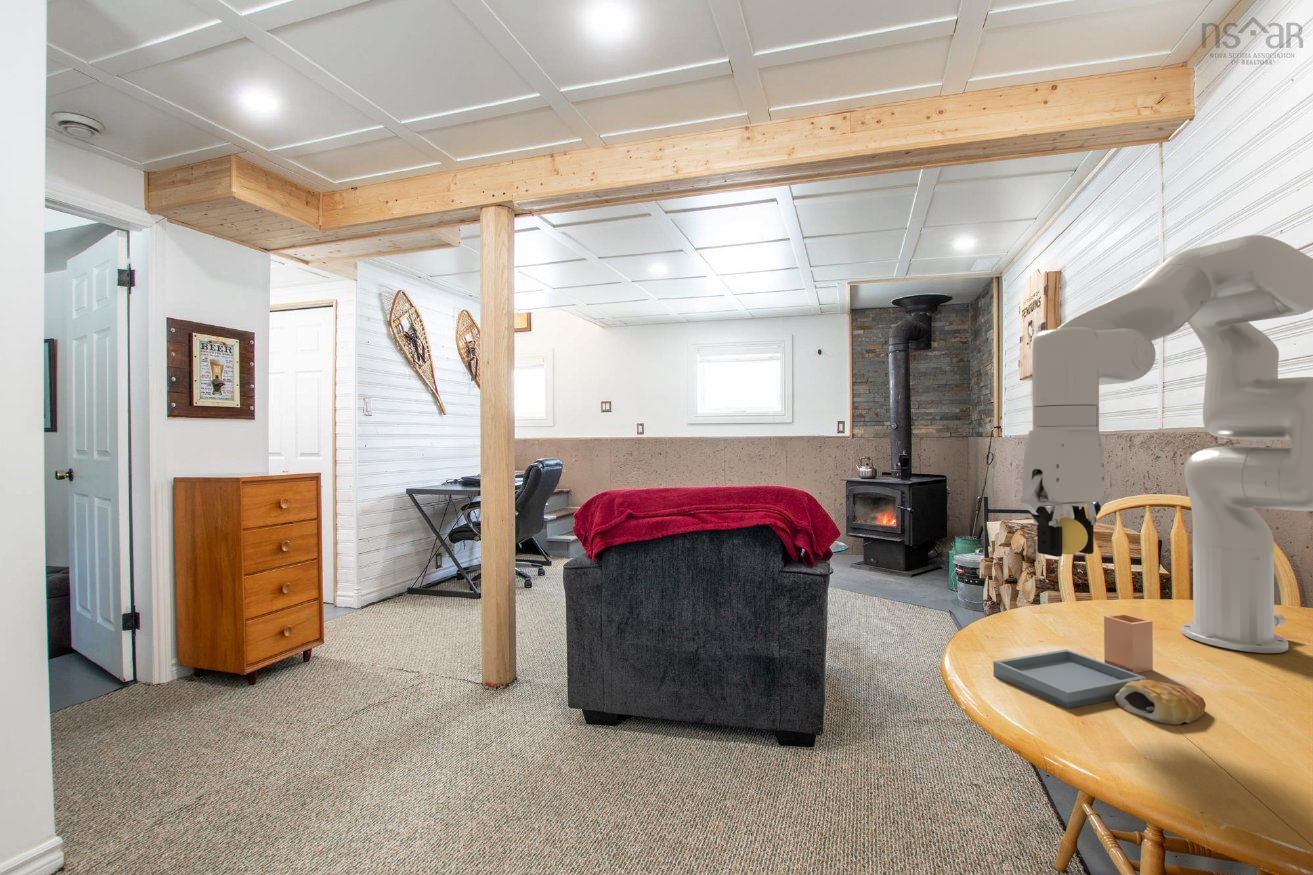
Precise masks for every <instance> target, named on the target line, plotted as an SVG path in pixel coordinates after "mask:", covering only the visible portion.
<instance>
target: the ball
mask: <svg viewBox="0 0 1313 875" xmlns="http://www.w3.org/2000/svg"><path fill="white" fill-rule="evenodd" d="M1058 526H1059V527H1062V555H1074V554H1076V553H1080V552H1079V551H1081V550H1082V549H1083V548H1084V547H1085V546H1086V544H1087V540H1088V535H1087V531H1086V529H1085V528H1084V526H1083V525H1082V524H1081V523H1079V522H1078V521H1076V520H1074V519H1071V517H1064V516H1063V517H1061V516H1060V519H1059V524H1058Z"/></svg>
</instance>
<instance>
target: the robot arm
mask: <svg viewBox="0 0 1313 875" xmlns="http://www.w3.org/2000/svg"><path fill="white" fill-rule="evenodd" d="M1312 311H1313V258H1312V257H1311V256H1309V255H1308V254H1306V253H1304V252H1302V251H1300V250H1298V249H1297V248H1295V247H1293V246H1291V245H1290V244H1288V243H1286V242H1285V241H1282V240H1279V239H1277V238H1274V237H1270V236H1267V235H1262V234H1260V235H1259V234H1253V235H1246V236H1245V235H1244V236H1241V237H1236V238H1233V239H1228V240H1225V241H1220V242H1216V243H1211V244H1207V245H1202V246H1198V247H1194V248H1191V249H1188V250H1184V251H1181V252H1178V253H1177V254H1174V255H1172V256H1170V257H1169V258H1167V260H1165V261H1164V262H1163V263H1161V265H1159V266H1158V267H1157V268H1155V269H1154V270H1153V271H1152V272H1151V273H1150V274H1149V275H1148V276H1146V277H1145V278H1144V279H1143V280H1141V281H1140V282H1139V283H1138V284H1137V285H1136V286H1135V287H1133V288H1132V289H1131V290H1129V291H1127V292H1126V293H1123V294H1121V295H1119V296H1116V297H1114V298H1111V299H1109V300H1108V301H1106V302H1103V303H1102V304H1100V305H1098V306H1096V307H1093V308H1092V309H1089V310H1087V311H1085V312H1082V313H1081V314H1079V315H1076V316H1075V317H1073V318H1071V319H1069V320H1068V321H1066V322H1064V323H1063V324H1061V325H1060V326H1059V327H1057V328H1053V329H1048V330H1044V331H1041V332H1039V333H1037V334H1036V335H1035V336H1034V338H1033V341H1032V355H1031V356H1032V364H1031V365H1032V369H1031V370H1032V373H1031V374H1032V430H1029V431H1028V433H1027V437H1026V442H1025V448H1024V454H1023V461H1022V462H1023V465H1022V475H1021V476H1022V477H1021V478H1022V479H1021V493H1022V494H1021V495H1022V496H1021V498H1020V504H1021V505H1022V506H1023V507H1024V508H1025V509H1026V510H1027V511H1028V512H1029V514H1030V515H1031V517H1032V518H1033V519H1032V520H1033V523H1034V524H1035V525H1036V526H1037V527H1036V530H1037V531H1036V535H1037V536H1036V537H1037V538H1036V539H1037V541H1036V545H1037V547H1036V548H1037V549H1036V550H1037V552H1038V554H1041V555H1046V556H1050V557H1051V556H1052V557H1055V558H1059V557H1062V556H1063V554H1062V527H1059V526H1058V524H1059V519H1060V518H1061V512H1062V508H1063V505H1068V507H1069V508H1068V509H1069V514H1070V518H1071V519H1074V520H1076V521H1078V522H1079V523H1081V524H1082V525H1083V526H1084V528H1085V529H1086V531H1087V535H1088V540H1087V544H1086V546H1085V547H1084V548H1083V549H1082V550H1081V551H1079V552H1078V553H1081V554H1086V555H1091V554H1092V555H1093V554H1094V552H1095V551H1094V550H1095V548H1094V546H1095V545H1094V544H1095V543H1094V539H1095V538H1094V535H1095V534H1094V526H1095V525H1096V523H1097V522H1098V518H1097V516H1098V515H1099V513H1100V512H1101V509H1102V508H1103V506H1104V505H1105V504H1106V503H1107V502H1108V501H1109V500H1108V499H1109V495H1108V494H1107V493H1106V491H1105V486H1106V485H1105V484H1106V480H1105V478H1106V477H1105V460H1104V451H1103V450H1104V449H1103V444H1102V439H1101V434H1100V433H1101V432H1100V386H1104V385H1116V384H1117V385H1119V384H1125V383H1131V382H1134V381H1137V380H1139V379H1141V378H1143V377H1144V376H1146V375H1147V374H1148V373H1149V372H1150V371H1151V370H1152V368H1153V367H1154V364H1155V362H1156V355H1157V352H1156V348H1155V346H1154V343H1153V341H1156V340H1159V339H1162V338H1164V337H1167V336H1169V335H1172V334H1173V333H1175V332H1178V331H1179V330H1180V329H1181V328H1182V327H1184V326H1185V324H1188V325H1189V327H1190V328H1191V329H1192V331H1193V332H1194V333H1195V335H1196V337H1197V338H1198V339H1199V341H1200V342H1201V344H1202V346H1203V348H1204V352H1205V354H1206V355H1205V356H1206V373H1205V382H1204V394H1203V404H1202V423H1203V426H1204V428H1205V430H1206V431H1207V433H1209V434H1210V435H1212V436H1214V437H1217V438H1223V439H1232V440H1235V439H1236V440H1237V439H1238V440H1289V441H1290V444H1291V447H1279V446H1278V447H1276V446H1275V447H1273V446H1272V447H1266V446H1264V447H1263V446H1215V447H1208V448H1204V449H1201V450H1198V451H1196V452H1194V453H1193V454H1192V455H1190V456H1189V457H1188V458H1187V461H1186V463H1185V466H1184V471H1183V472H1184V480H1185V485H1186V489H1187V492H1188V497H1189V503H1190V508H1191V517H1192V570H1193V571H1192V580H1193V581H1192V584H1193V586H1192V589H1193V590H1192V591H1193V592H1192V594H1193V595H1192V596H1193V598H1192V599H1193V600H1192V602H1193V604H1192V606H1193V614H1192V615H1193V621H1188V622H1185V623H1182V624H1181V626H1180V628H1181V634H1183V635H1184V636H1186V637H1188V638H1189V639H1191V640H1194V641H1196V642H1200V643H1202V644H1206V645H1210V646H1215V647H1218V648H1223V649H1227V650H1234V651H1239V652H1247V653H1257V654H1280V653H1285V652H1287V651H1288V650H1289V642H1288V640H1286V639H1285V638H1284V637H1282V636H1279V635H1277V634H1276V633H1275V627H1278V626H1283V625H1284V624H1286V617H1285V616H1283V615H1282V614H1281V613H1277V612H1276V613H1275V568H1274V567H1275V566H1274V565H1275V561H1274V560H1275V558H1274V557H1275V556H1274V555H1275V551H1274V550H1275V546H1274V545H1275V540H1274V536H1273V532H1272V530H1271V528H1270V527H1269V525H1268V524H1267V522H1266V521H1265V520H1264V518H1262V516H1261V515H1260V514H1259V513H1258V512H1257V511H1256V510H1255V509H1254V508H1256V509H1258V508H1261V509H1262V508H1263V509H1271V510H1272V509H1274V510H1284V511H1285V510H1287V511H1299V512H1313V376H1300V377H1299V376H1298V377H1283V378H1280V377H1279V360H1280V352H1279V348H1278V347H1277V345H1276V344H1275V342H1274V341H1273V340H1272V339H1271V338H1270V337H1269V336H1267V335H1266V334H1265V333H1264V332H1262V331H1261V330H1259V328H1257V327H1256V326H1254V325H1253V324H1252V323H1251V322H1256V321H1264V320H1270V319H1271V320H1272V319H1279V318H1286V317H1287V318H1288V317H1292V316H1293V317H1294V316H1299V315H1303V314H1306V313H1309V312H1312ZM1047 508H1050V512H1049V510H1048V509H1047Z"/></svg>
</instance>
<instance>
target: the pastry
mask: <svg viewBox="0 0 1313 875" xmlns="http://www.w3.org/2000/svg"><path fill="white" fill-rule="evenodd" d="M1114 700H1115V701H1116V702H1117V703H1118V705H1119V707H1120V708H1123V710H1125V711H1127V712H1129V713H1131V714H1135V715H1137V716H1140V717H1143V718H1145V719H1148V720H1151V721H1153V722H1156V723H1159V724H1166V725H1171V726H1173V725H1175V726H1176V725H1181V724H1183V723H1187V724H1190V723H1193V722H1195V721H1197V720H1198V719H1200V718H1202V717H1203V716H1204V714H1205V711H1206V710H1205V709H1206V706H1207V704H1206V701H1205V700H1204V698H1203V697H1202V696H1201V695H1199V694H1197V693H1195V692H1193V691H1191V690H1189V689H1188V688H1187V687H1183V686H1181V685H1177V684H1172V683H1169V682H1164V681H1157V680H1154V679H1147V680H1140V681H1129V682H1128V683H1127V684H1126V685H1125V686H1124V687H1123V688H1122V689H1121V690H1120V691H1119V693H1118V694H1116V695H1115V699H1114ZM1202 715H1203V716H1202ZM1199 717H1200V718H1199Z"/></svg>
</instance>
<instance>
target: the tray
mask: <svg viewBox="0 0 1313 875" xmlns="http://www.w3.org/2000/svg"><path fill="white" fill-rule="evenodd" d="M992 662H993V663H992V664H993V666H992V668H993V676H994V677H996V678H999V679H1000V680H1003V681H1005V682H1008V683H1009V684H1012V685H1014V686H1016V687H1018V688H1021V689H1023V690H1025V691H1027V692H1029V693H1032V694H1034V695H1037V696H1038V697H1040V698H1043V699H1045V700H1048V701H1049V700H1050V701H1049V702H1052V703H1054V704H1057V705H1059V706H1061V707H1063V708H1065V709H1067V710H1068V709H1069V710H1070V709H1075V708H1079V707H1082V706H1083V707H1085V706H1089V705H1095V704H1099V703H1103V702H1107V701H1112V700H1116V699H1115V695H1116V694H1118V693H1119V691H1120V690H1121V689H1122V688H1123V687H1124V686H1125V685H1126V684H1127V683H1128V682H1129V681H1140V680H1148V679H1147V677H1146V676H1143V675H1140V674H1137V673H1132V672H1129V671H1126V670H1124V669H1121V668H1118V667H1115V666H1112V665H1109V664H1107V663H1105V661H1104V662H1103V661H1101V660H1098V659H1095V658H1092V657H1090V656H1089V657H1088V656H1087V655H1084V654H1081V653H1078V652H1075V651H1072V650H1070V649H1061V650H1060V649H1059V650H1055V651H1048V652H1042V653H1037V654H1030V655H1025V656H1018V657H1012V658H1006V659H1000V660H994V661H992Z"/></svg>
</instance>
